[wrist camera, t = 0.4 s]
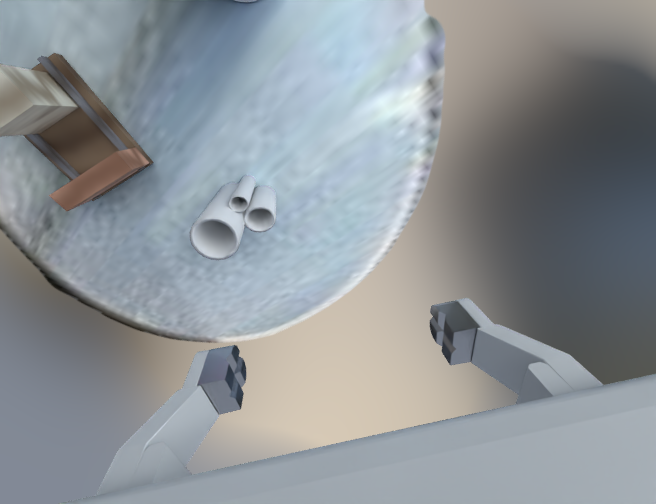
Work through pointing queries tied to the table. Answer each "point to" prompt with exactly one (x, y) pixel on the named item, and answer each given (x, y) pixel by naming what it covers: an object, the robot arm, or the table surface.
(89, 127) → the track
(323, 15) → the table surface
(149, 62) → the table surface
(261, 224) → the vase
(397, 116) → the table surface
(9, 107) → the cream rectangular block
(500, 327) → the robot arm
